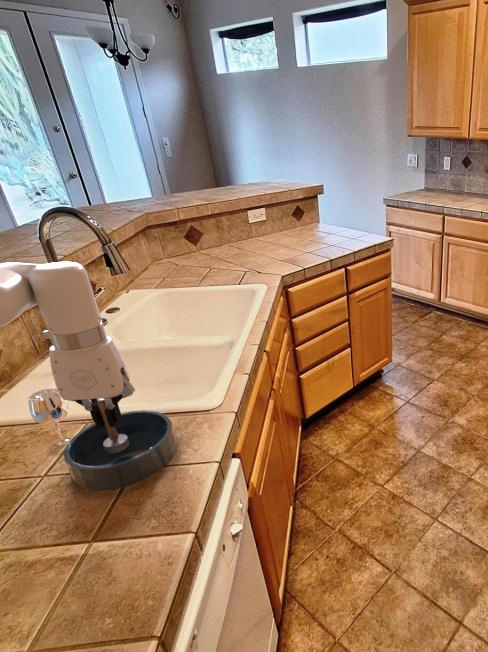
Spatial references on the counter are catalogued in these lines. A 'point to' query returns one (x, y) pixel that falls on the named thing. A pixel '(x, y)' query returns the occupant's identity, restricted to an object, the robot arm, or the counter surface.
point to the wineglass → (49, 409)
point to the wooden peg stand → (112, 434)
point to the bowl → (121, 452)
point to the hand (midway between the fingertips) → (109, 423)
